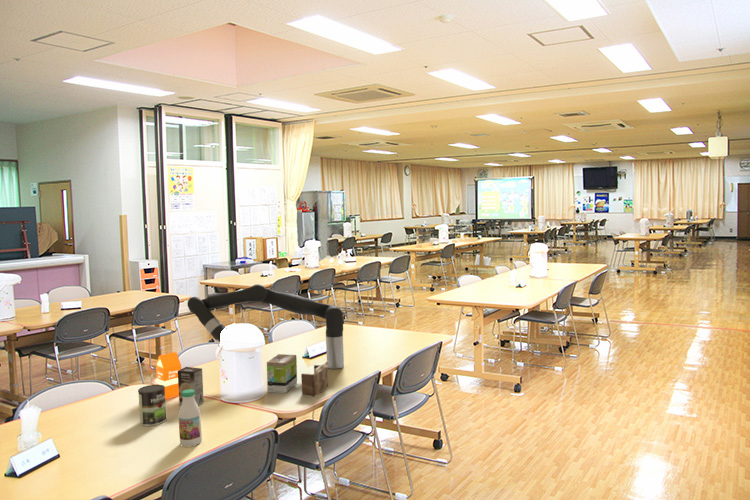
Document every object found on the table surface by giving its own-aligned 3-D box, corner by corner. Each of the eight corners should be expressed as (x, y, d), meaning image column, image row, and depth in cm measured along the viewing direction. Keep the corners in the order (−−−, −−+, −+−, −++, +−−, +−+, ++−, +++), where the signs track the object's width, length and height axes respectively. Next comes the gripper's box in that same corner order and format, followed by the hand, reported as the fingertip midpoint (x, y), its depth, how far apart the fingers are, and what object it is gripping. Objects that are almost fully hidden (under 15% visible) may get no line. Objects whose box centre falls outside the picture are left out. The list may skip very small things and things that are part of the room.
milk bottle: (183, 439, 207) (180, 388, 205) (204, 438, 207) (201, 386, 206) (177, 448, 199) (174, 395, 197) (199, 446, 200) (196, 393, 198)
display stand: (315, 384, 266) (314, 360, 265) (329, 385, 264) (328, 360, 263) (302, 395, 252) (301, 369, 251) (316, 396, 250) (315, 370, 249)
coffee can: (172, 419, 227) (170, 386, 226) (150, 428, 218) (148, 394, 217) (156, 414, 232) (154, 382, 231) (134, 423, 224) (132, 390, 223)
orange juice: (183, 394, 258) (180, 353, 256) (165, 399, 252) (162, 357, 250) (175, 390, 263) (172, 350, 262) (157, 395, 257) (154, 354, 255)
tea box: (287, 393, 255) (285, 362, 254) (266, 392, 257) (265, 362, 256) (297, 383, 270) (296, 353, 268) (278, 382, 272) (277, 353, 270)
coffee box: (178, 405, 243) (176, 370, 242) (187, 400, 249) (185, 366, 248) (195, 407, 240) (193, 372, 239) (204, 402, 246) (202, 367, 245)
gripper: (212, 326, 265) (235, 352, 262) (228, 321, 278) (250, 345, 275) (204, 336, 267) (226, 362, 264) (219, 330, 280) (241, 355, 277)
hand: (238, 354), depth 270 cm, fingers closed
